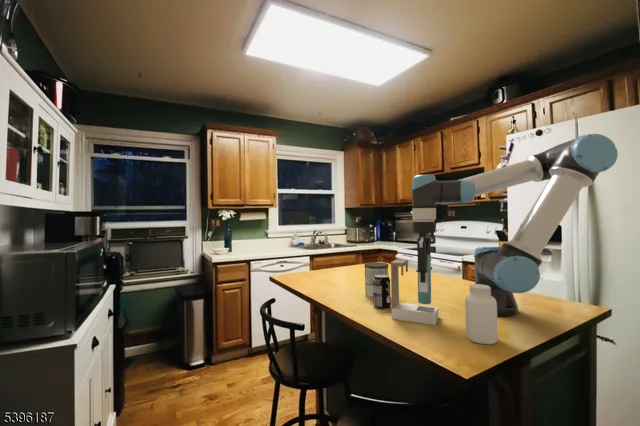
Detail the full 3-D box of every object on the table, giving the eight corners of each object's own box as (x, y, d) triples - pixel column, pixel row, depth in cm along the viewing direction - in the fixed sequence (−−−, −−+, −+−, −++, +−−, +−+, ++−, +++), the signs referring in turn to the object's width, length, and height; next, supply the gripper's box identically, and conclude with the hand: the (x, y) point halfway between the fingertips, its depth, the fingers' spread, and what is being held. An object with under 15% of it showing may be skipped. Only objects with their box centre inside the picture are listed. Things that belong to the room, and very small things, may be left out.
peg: (432, 301, 103) (431, 254, 103) (430, 304, 99) (429, 256, 99) (419, 299, 105) (418, 253, 105) (417, 303, 101) (416, 255, 101)
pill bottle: (460, 334, 89) (459, 283, 89) (486, 333, 90) (485, 282, 90) (476, 346, 81) (475, 290, 81) (504, 344, 82) (503, 289, 82)
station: (438, 317, 104) (437, 261, 104) (435, 325, 97) (434, 265, 97) (397, 311, 110) (396, 259, 111) (391, 318, 103) (390, 262, 104)
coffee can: (362, 294, 136) (361, 262, 136) (383, 292, 138) (383, 261, 138) (369, 300, 126) (369, 266, 126) (393, 298, 127) (392, 265, 127)
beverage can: (389, 304, 120) (388, 273, 120) (391, 309, 114) (391, 277, 114) (372, 303, 121) (372, 273, 121) (374, 308, 114) (373, 277, 114)
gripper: (417, 220, 112) (417, 283, 111) (407, 221, 96) (408, 295, 96) (438, 220, 108) (439, 285, 108) (432, 221, 93) (432, 297, 93)
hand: (424, 290), depth 102 cm, fingers closed on peg, 4 cm apart
